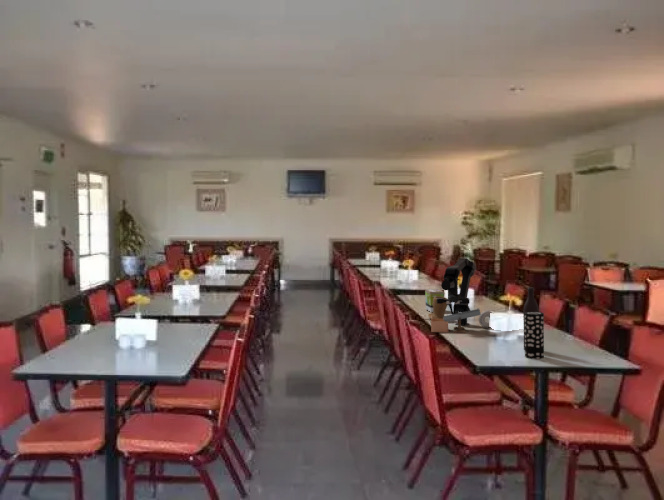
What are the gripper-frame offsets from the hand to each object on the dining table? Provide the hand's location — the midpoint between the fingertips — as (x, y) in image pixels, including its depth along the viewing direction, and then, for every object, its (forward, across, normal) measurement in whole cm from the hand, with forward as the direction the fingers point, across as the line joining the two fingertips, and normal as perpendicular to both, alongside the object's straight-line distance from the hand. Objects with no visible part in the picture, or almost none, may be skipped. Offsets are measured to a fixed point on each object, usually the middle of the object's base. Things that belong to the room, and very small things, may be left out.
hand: (453, 315), depth 392 cm
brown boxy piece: (+7, -8, -10) cm, 14 cm away
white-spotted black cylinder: (+8, +34, -83) cm, 90 cm away
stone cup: (+8, -8, +33) cm, 35 cm away
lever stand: (+7, +3, -10) cm, 12 cm away
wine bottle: (+8, +35, -67) cm, 76 cm away
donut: (+8, +20, +1) cm, 21 cm away
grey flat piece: (0, +5, -6) cm, 7 cm away
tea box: (+8, -10, +73) cm, 74 cm away
